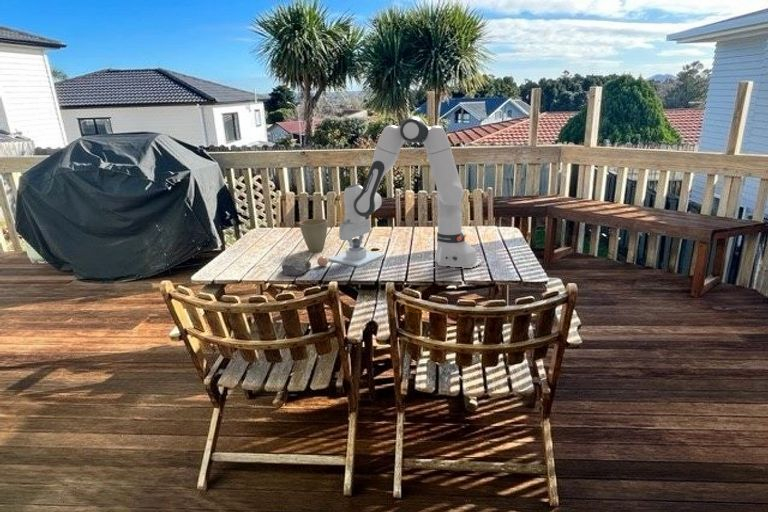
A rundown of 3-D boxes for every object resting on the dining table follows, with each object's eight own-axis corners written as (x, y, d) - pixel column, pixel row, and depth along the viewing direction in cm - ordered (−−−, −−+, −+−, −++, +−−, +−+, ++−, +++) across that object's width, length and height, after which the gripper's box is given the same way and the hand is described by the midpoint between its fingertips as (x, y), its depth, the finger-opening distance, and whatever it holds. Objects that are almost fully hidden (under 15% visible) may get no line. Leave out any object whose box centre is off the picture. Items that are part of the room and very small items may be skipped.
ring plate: (384, 256, 228) (383, 246, 227) (359, 267, 213) (358, 256, 212) (354, 250, 240) (353, 241, 238) (328, 260, 225) (327, 251, 223)
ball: (330, 265, 217) (329, 255, 215) (323, 268, 213) (322, 258, 211) (322, 263, 220) (322, 254, 218) (315, 266, 216) (314, 256, 214)
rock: (302, 278, 202) (314, 268, 216) (301, 264, 200) (313, 255, 214) (276, 276, 204) (289, 266, 218) (275, 262, 203) (289, 254, 217)
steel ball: (363, 247, 225) (362, 238, 224) (356, 250, 221) (356, 240, 220) (355, 246, 228) (354, 236, 227) (349, 248, 224) (348, 239, 223)
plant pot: (313, 245, 253) (311, 217, 248) (335, 248, 246) (333, 219, 241) (296, 252, 241) (293, 223, 236) (318, 255, 234) (315, 225, 229)
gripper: (345, 222, 211) (346, 250, 215) (372, 214, 226) (373, 241, 230) (335, 221, 214) (337, 249, 218) (362, 213, 230) (363, 239, 234)
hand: (356, 244), depth 224 cm, fingers closed on steel ball, 5 cm apart
